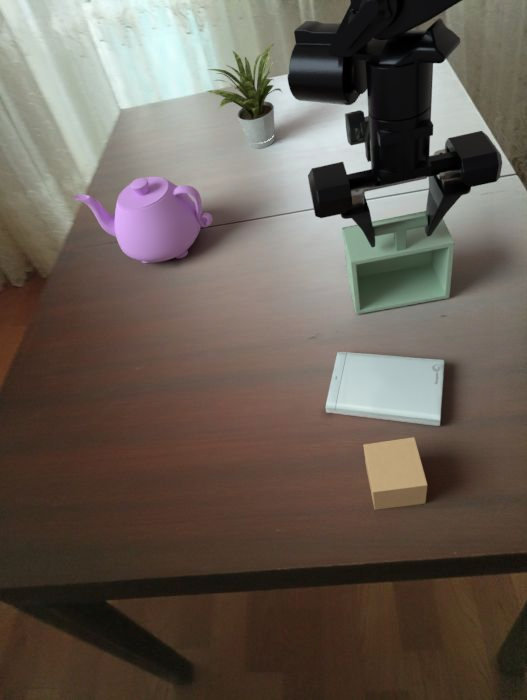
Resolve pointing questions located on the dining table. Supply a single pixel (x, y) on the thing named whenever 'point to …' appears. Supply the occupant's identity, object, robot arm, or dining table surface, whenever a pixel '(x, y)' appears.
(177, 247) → the teapot
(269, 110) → the house plant
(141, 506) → the dining table surface
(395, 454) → the tan cardboard cube
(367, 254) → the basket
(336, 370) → the hard drive
